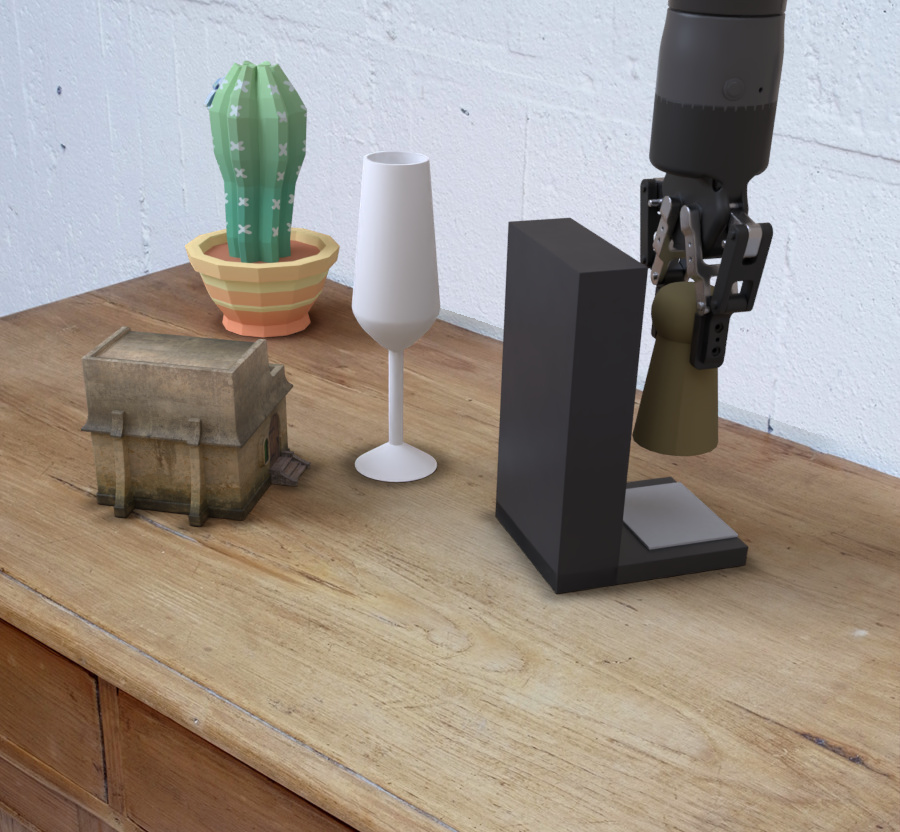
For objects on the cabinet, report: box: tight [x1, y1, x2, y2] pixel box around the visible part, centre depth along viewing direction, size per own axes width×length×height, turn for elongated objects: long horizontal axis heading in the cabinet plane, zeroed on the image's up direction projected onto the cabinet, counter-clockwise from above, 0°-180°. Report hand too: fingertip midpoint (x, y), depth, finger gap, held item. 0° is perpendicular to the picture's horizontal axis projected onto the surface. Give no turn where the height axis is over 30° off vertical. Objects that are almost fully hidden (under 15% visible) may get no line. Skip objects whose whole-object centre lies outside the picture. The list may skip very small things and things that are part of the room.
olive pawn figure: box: [631, 281, 719, 457], centre depth 90 cm, size 6×6×11 cm
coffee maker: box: [494, 217, 749, 595], centre depth 90 cm, size 14×12×22 cm
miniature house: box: [80, 326, 312, 528], centre depth 100 cm, size 15×14×11 cm
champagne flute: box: [351, 150, 441, 483], centre depth 100 cm, size 7×7×24 cm
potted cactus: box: [184, 60, 341, 338], centre depth 129 cm, size 15×15×25 cm
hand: (685, 351), depth 90 cm, fingers closed on olive pawn figure, 5 cm apart
